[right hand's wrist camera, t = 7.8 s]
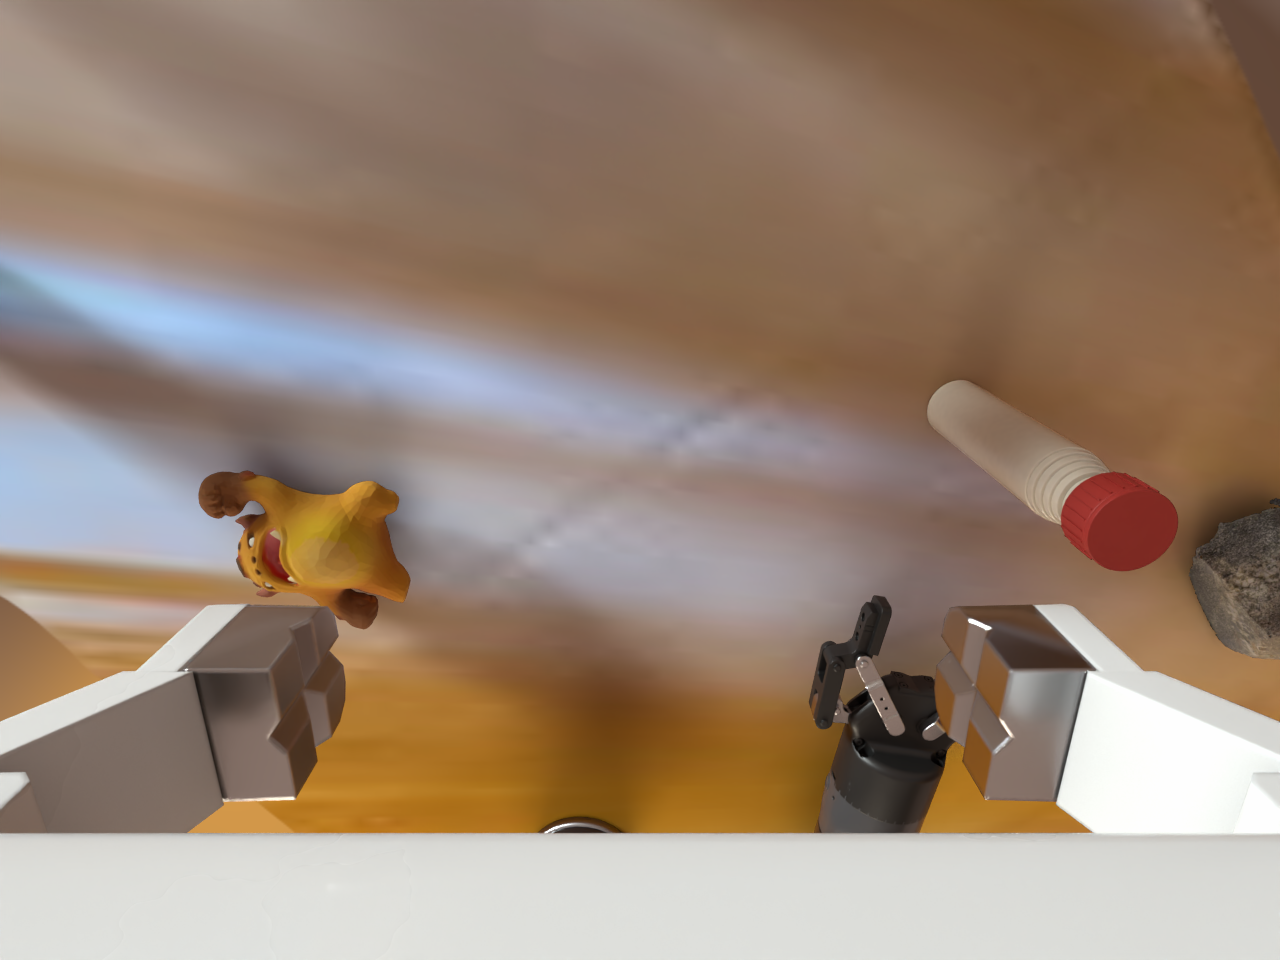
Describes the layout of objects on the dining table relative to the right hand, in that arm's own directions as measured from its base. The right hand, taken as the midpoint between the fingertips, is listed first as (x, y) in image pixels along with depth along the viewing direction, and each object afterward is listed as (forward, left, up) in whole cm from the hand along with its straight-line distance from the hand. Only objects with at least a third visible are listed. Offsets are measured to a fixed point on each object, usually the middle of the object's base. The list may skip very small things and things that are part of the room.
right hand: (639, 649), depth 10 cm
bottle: (+12, +21, -44) cm, 50 cm away
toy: (+15, -26, -44) cm, 53 cm away
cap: (+12, +21, -23) cm, 34 cm away
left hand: (+24, +18, -38) cm, 48 cm away
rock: (+27, +44, -44) cm, 68 cm away
